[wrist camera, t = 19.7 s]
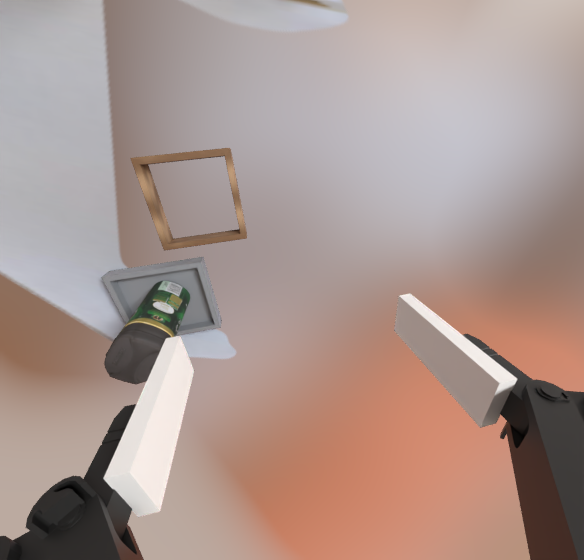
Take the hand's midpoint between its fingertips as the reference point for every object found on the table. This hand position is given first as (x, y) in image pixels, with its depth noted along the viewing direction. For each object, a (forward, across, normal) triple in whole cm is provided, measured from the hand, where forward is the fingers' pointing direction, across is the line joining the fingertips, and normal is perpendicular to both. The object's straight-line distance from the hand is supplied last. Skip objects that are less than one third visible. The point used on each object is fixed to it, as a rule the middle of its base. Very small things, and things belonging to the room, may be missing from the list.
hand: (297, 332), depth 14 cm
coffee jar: (+36, -22, -15) cm, 45 cm away
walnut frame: (+37, -11, +4) cm, 39 cm away
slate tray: (+37, -22, -15) cm, 45 cm away
